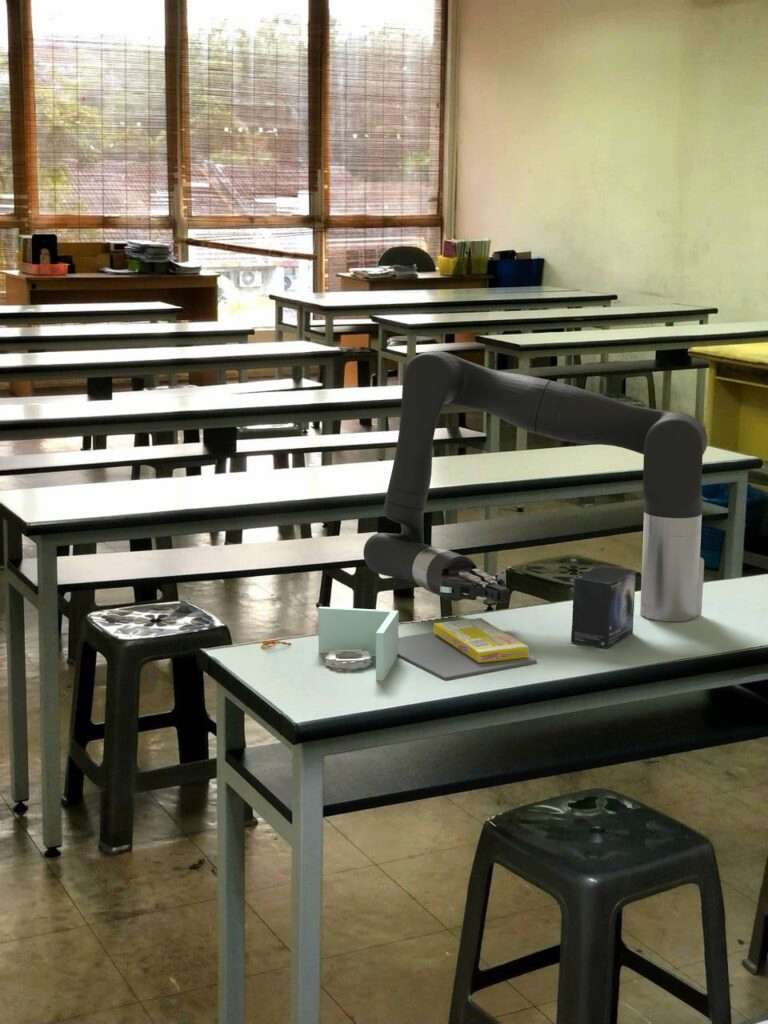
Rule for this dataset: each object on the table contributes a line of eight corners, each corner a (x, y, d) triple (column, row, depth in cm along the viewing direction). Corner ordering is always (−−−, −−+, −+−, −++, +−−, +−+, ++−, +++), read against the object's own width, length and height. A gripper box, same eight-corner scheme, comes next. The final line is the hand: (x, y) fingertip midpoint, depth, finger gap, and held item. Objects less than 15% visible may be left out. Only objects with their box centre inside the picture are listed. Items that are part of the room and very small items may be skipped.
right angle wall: (319, 654, 200) (319, 606, 198) (398, 659, 198) (398, 610, 196) (300, 679, 188) (299, 628, 187) (383, 684, 186) (383, 633, 185)
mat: (461, 629, 211) (461, 627, 211) (536, 662, 194) (536, 660, 194) (374, 644, 203) (374, 641, 203) (445, 680, 186) (445, 677, 186)
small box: (608, 650, 200) (611, 582, 198) (569, 643, 204) (571, 577, 202) (635, 633, 209) (638, 568, 207) (597, 627, 213) (599, 563, 211)
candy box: (480, 630, 210) (432, 633, 207) (481, 617, 209) (433, 620, 206) (528, 660, 195) (477, 664, 192) (529, 646, 194) (478, 649, 191)
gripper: (410, 555, 215) (469, 577, 200) (478, 546, 221) (540, 567, 206) (409, 600, 216) (469, 626, 201) (477, 590, 222) (539, 614, 208)
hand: (505, 596), depth 204 cm, fingers closed
